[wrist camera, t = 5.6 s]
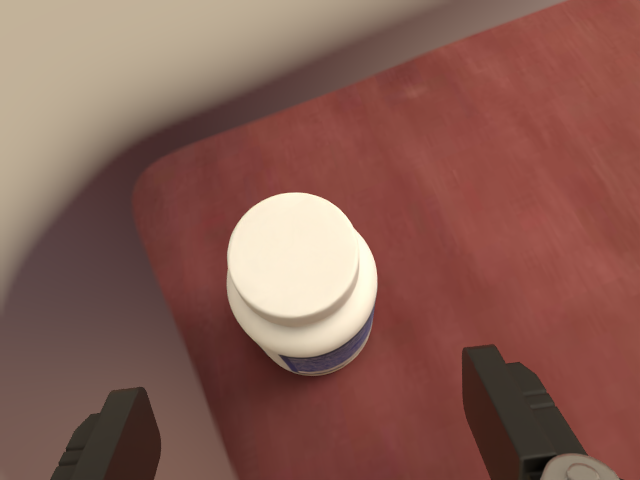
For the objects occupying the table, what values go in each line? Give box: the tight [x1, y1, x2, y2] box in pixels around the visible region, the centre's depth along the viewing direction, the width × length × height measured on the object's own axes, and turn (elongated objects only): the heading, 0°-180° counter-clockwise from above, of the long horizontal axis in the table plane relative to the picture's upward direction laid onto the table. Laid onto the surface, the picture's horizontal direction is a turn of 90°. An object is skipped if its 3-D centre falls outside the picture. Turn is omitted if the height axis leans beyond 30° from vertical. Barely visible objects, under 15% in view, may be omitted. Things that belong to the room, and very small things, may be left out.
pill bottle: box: [227, 193, 377, 376], centre depth 20 cm, size 5×5×9 cm
